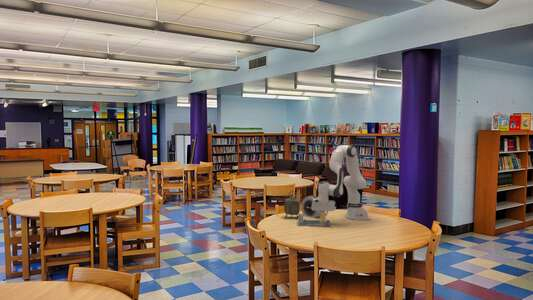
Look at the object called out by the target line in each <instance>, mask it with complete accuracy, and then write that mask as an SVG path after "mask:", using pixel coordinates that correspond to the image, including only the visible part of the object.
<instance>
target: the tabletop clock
mask: <svg viewBox="0 0 533 300" xmlns="http://www.w3.org/2000/svg"><path fill="white" fill-rule="evenodd" d="M290 193H291V194H290ZM293 193H294V194H293ZM288 195H289V198H285V200H284V203H283V204H284V205H283V211H284V214H285V217H286V218H287V217H288V215H290V219H293V216H296V218H299V214H300V212H301V211H300V210H301V209H300V208H301V203H300V199H299V198H296V197H295V196H296V195H297V192H296V191H295V190H294V191H293V190H292V191H291V190H290V191H289V192H288Z"/></svg>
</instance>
